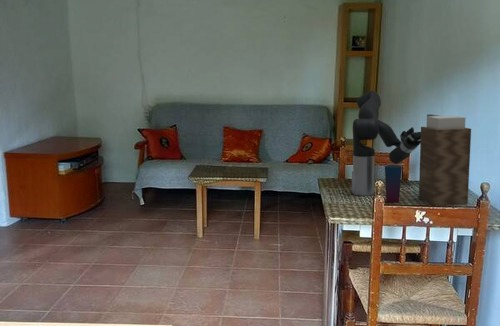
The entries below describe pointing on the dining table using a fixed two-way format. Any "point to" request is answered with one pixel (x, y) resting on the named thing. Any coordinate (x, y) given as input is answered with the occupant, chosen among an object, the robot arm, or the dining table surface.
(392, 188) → the cup
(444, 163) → the cabinet
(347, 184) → the dining table surface
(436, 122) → the caddy
